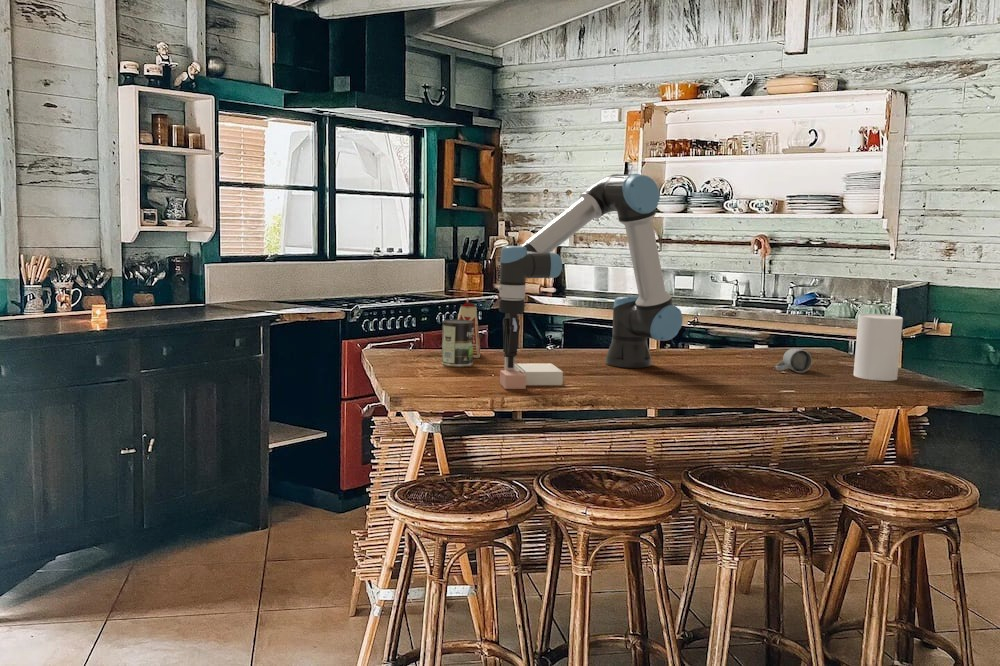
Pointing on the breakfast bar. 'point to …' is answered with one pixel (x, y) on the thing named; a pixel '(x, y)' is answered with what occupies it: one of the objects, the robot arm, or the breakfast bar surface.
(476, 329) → the milk carton
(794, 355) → the ceramic mug
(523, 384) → the stub
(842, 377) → the breakfast bar surface
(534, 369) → the board
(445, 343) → the coffee can
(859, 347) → the canister
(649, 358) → the robot arm
